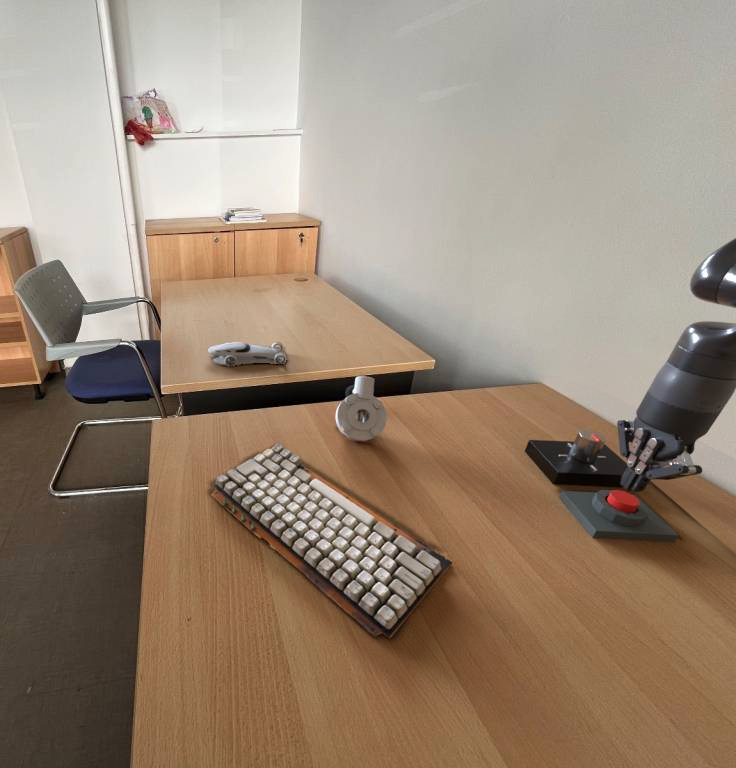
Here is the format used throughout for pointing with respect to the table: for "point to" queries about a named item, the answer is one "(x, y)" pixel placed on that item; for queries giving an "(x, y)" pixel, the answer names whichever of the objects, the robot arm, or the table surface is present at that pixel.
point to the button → (623, 501)
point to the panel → (576, 465)
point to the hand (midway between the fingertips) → (629, 488)
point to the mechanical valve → (361, 411)
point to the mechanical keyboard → (332, 539)
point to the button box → (616, 518)
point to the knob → (587, 446)
